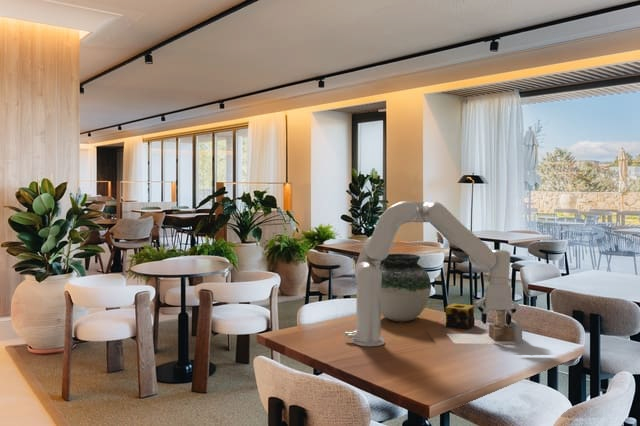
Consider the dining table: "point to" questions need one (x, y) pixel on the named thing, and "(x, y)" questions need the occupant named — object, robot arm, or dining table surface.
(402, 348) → the dining table surface
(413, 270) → the vase
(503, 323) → the dowel
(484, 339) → the board
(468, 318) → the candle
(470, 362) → the dining table surface
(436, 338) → the dining table surface
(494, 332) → the brown square wooden frame
